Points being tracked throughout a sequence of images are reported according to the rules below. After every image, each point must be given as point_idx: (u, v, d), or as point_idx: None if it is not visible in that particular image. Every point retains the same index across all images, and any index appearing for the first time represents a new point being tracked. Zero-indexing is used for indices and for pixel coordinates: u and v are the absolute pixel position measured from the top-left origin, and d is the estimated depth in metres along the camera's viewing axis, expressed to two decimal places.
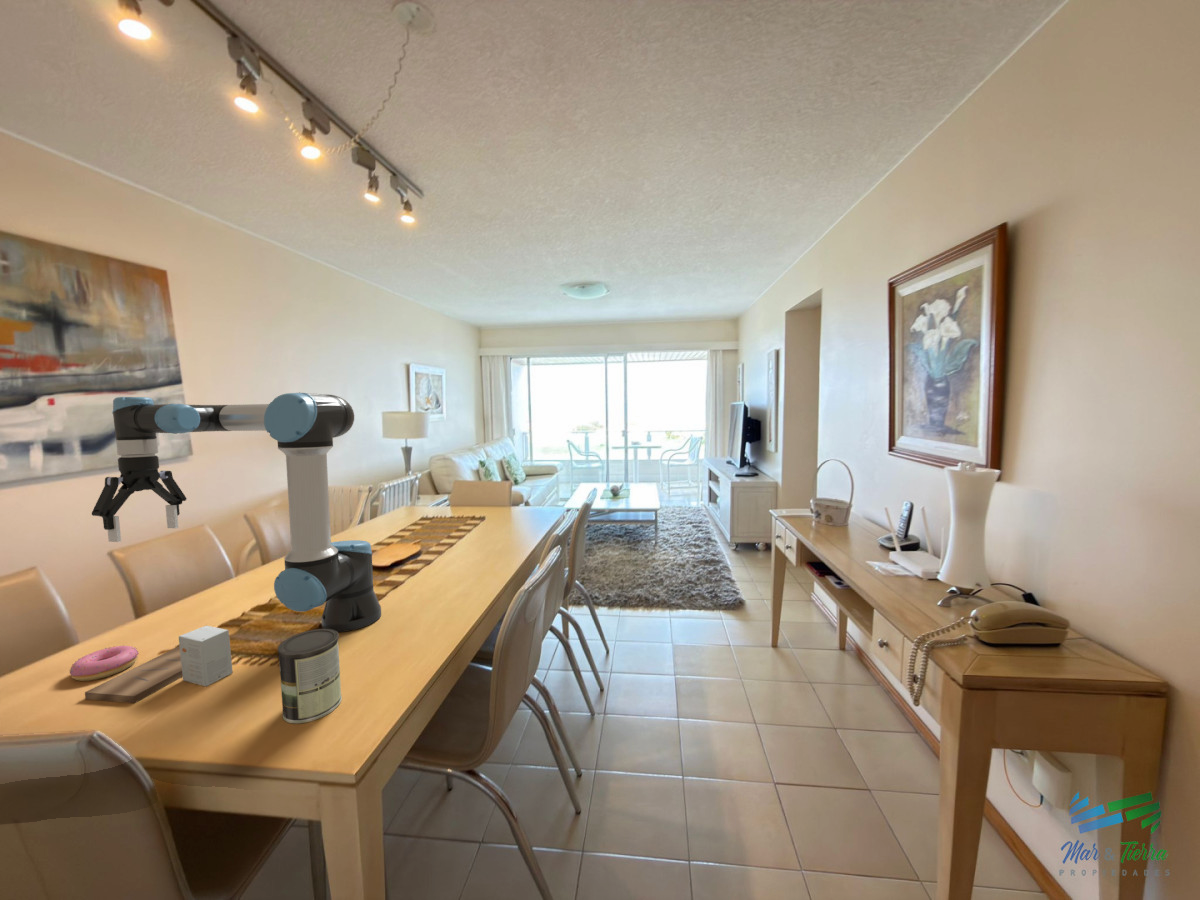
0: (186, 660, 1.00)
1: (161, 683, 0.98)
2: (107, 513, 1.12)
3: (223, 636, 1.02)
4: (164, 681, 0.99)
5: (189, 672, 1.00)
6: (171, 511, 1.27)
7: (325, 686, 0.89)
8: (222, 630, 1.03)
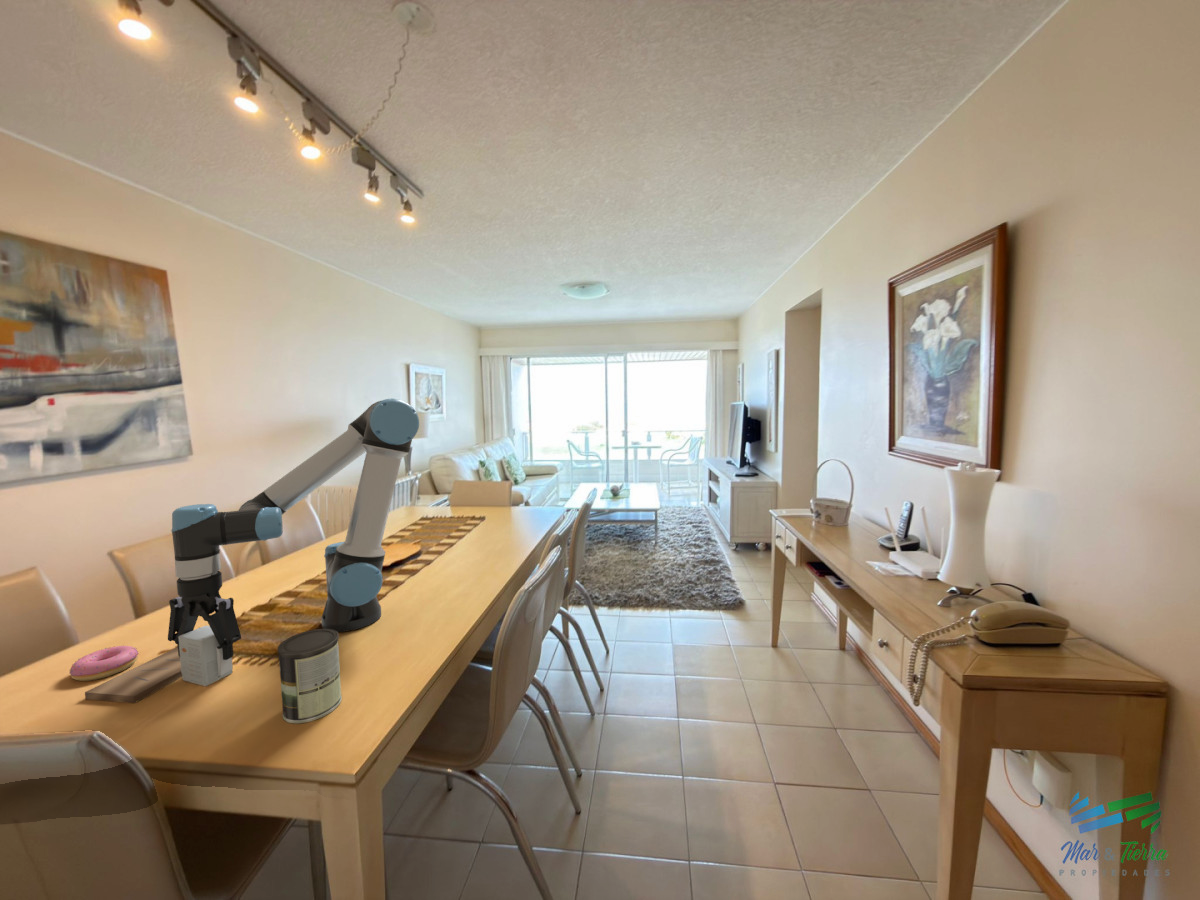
0: (186, 660, 1.00)
1: (161, 683, 0.98)
2: None
3: None
4: (164, 681, 0.99)
5: (189, 672, 1.00)
6: None
7: (325, 686, 0.89)
8: None
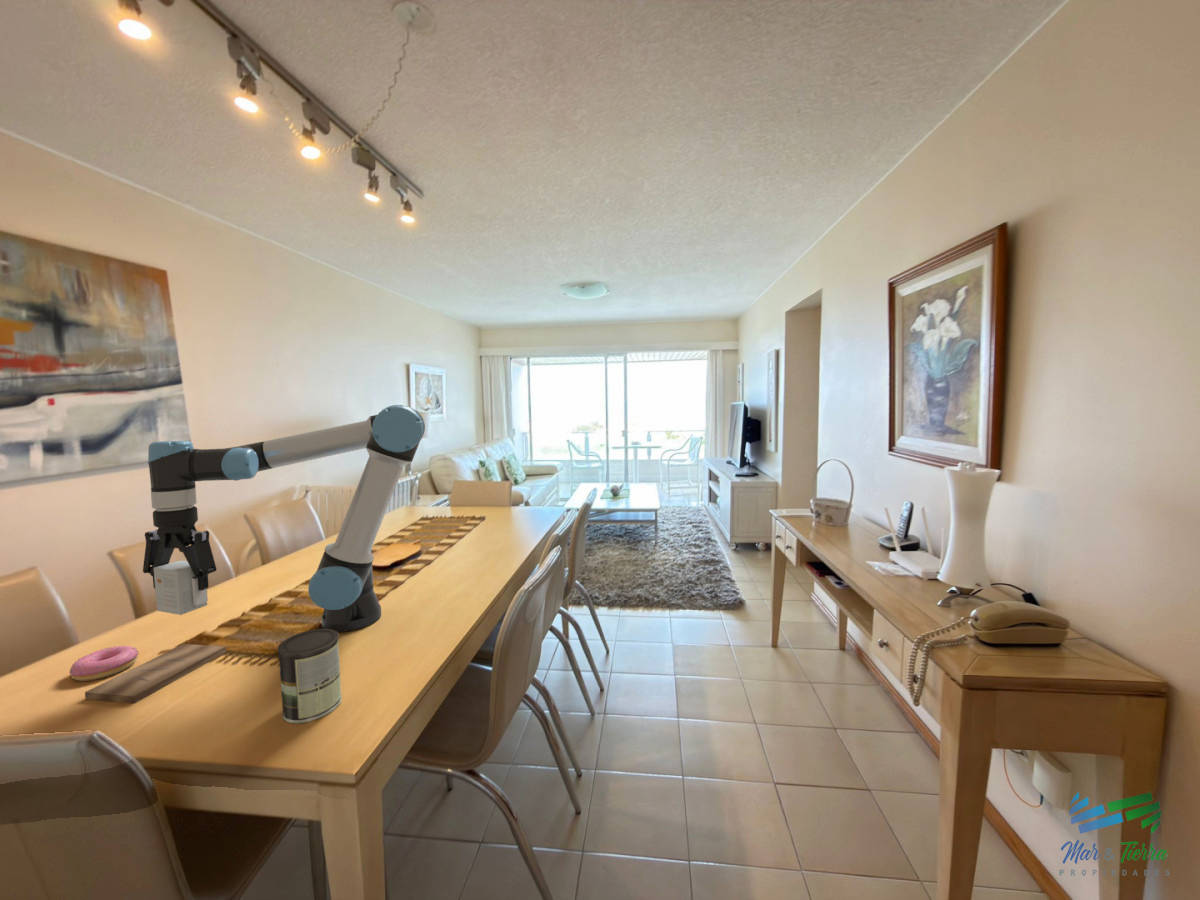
0: (161, 591, 1.03)
1: (161, 683, 0.98)
2: None
3: None
4: (164, 681, 0.99)
5: (164, 602, 1.03)
6: None
7: (325, 686, 0.89)
8: None
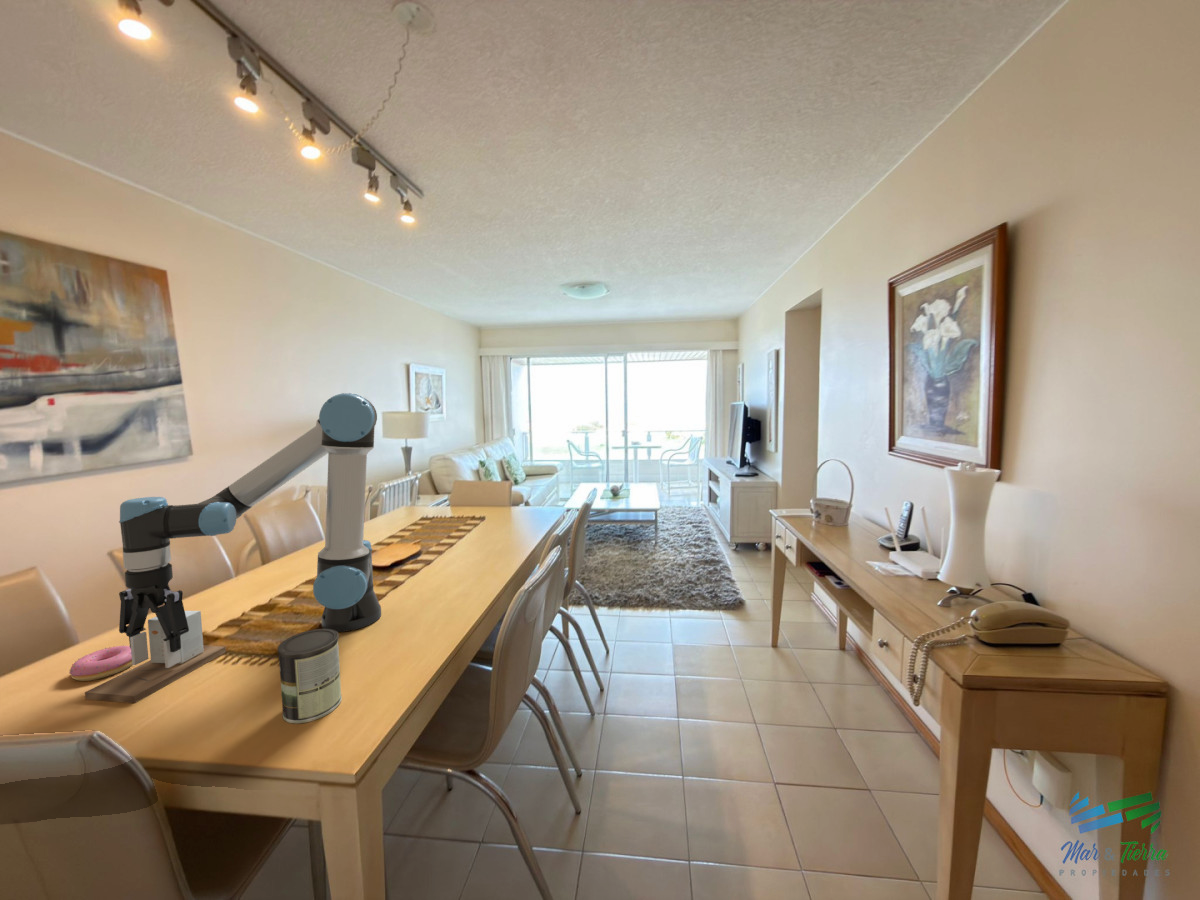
0: (156, 642, 1.05)
1: (161, 683, 0.98)
2: None
3: (196, 616, 1.08)
4: (164, 681, 0.99)
5: (160, 653, 1.05)
6: None
7: (325, 686, 0.89)
8: (194, 611, 1.09)
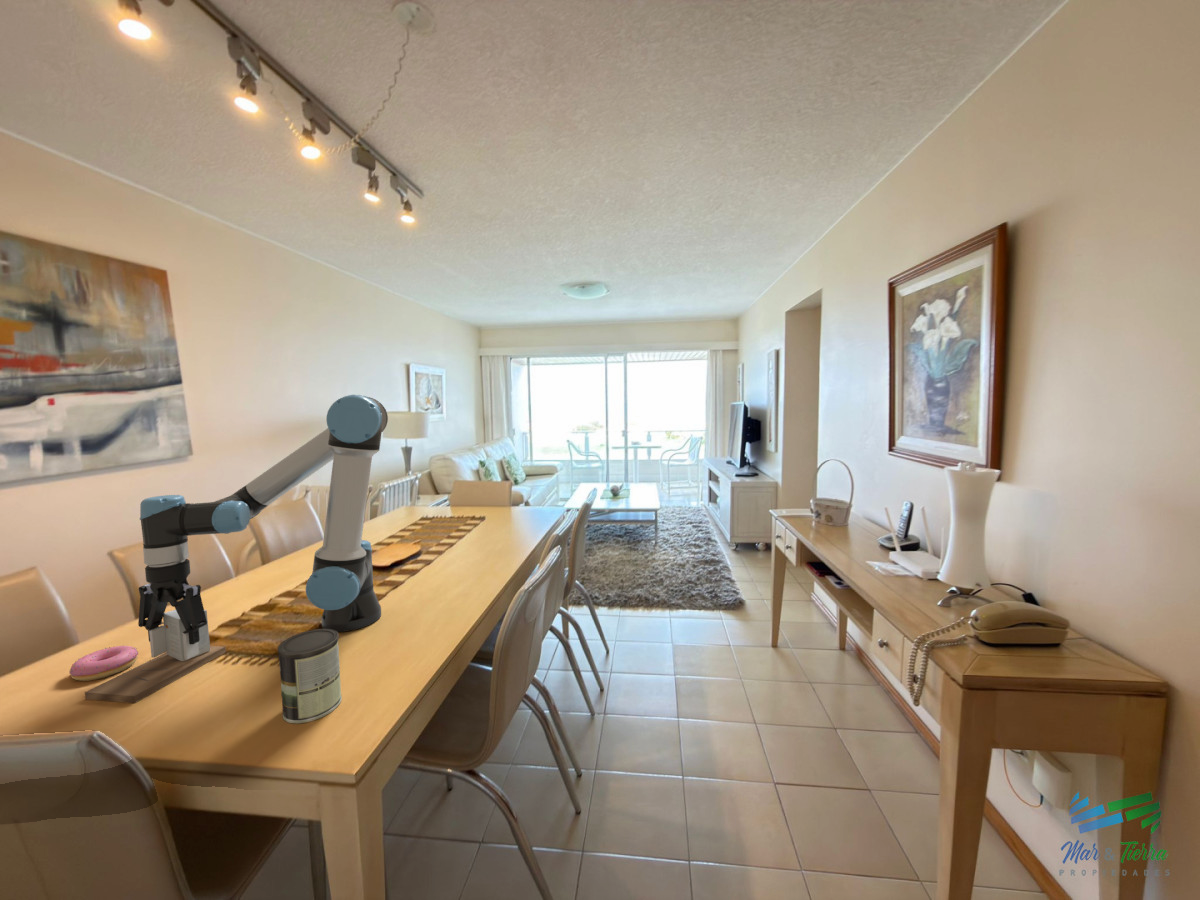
0: (168, 636, 1.08)
1: (161, 683, 0.98)
2: None
3: None
4: (164, 681, 0.99)
5: (170, 647, 1.08)
6: None
7: (325, 686, 0.89)
8: None
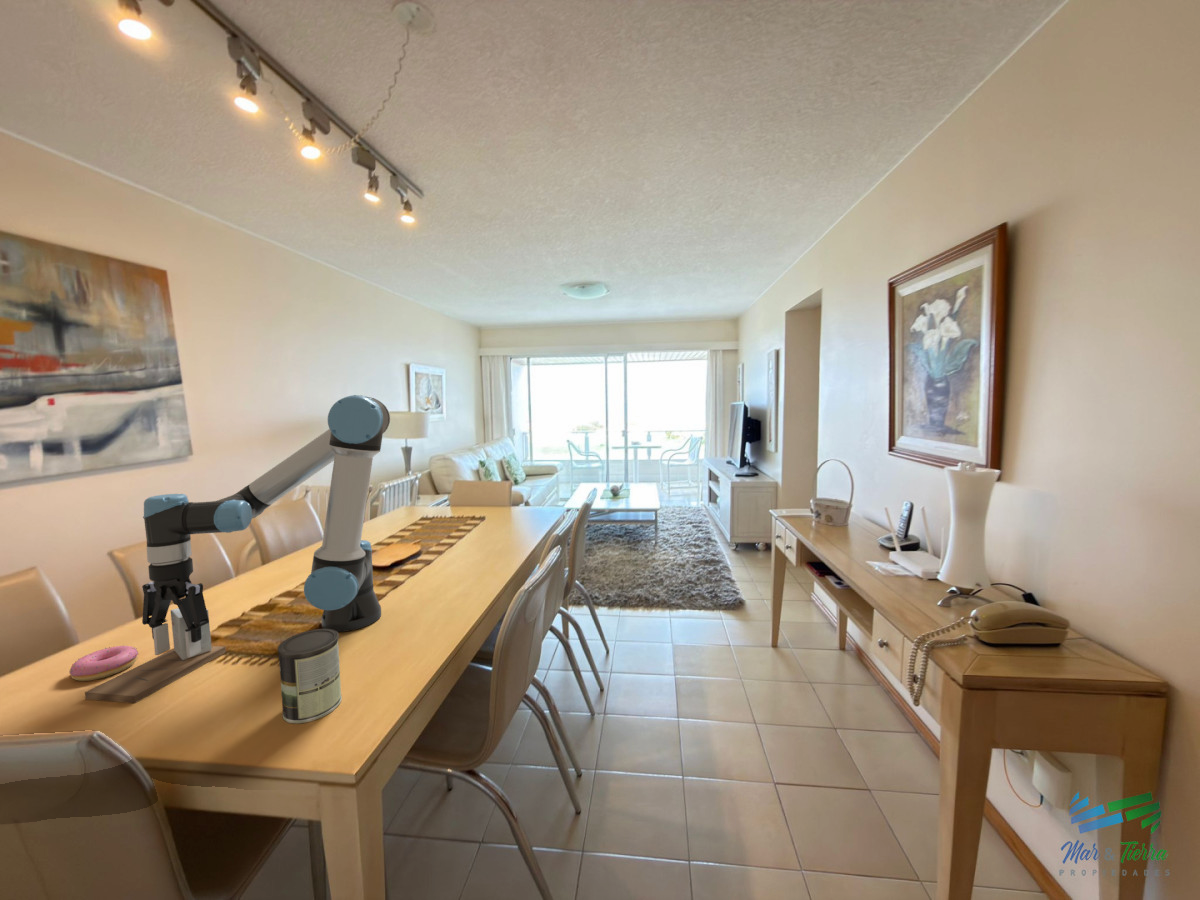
0: (174, 633, 1.09)
1: (161, 683, 0.98)
2: None
3: None
4: (164, 681, 0.99)
5: (175, 644, 1.09)
6: None
7: (325, 686, 0.89)
8: None
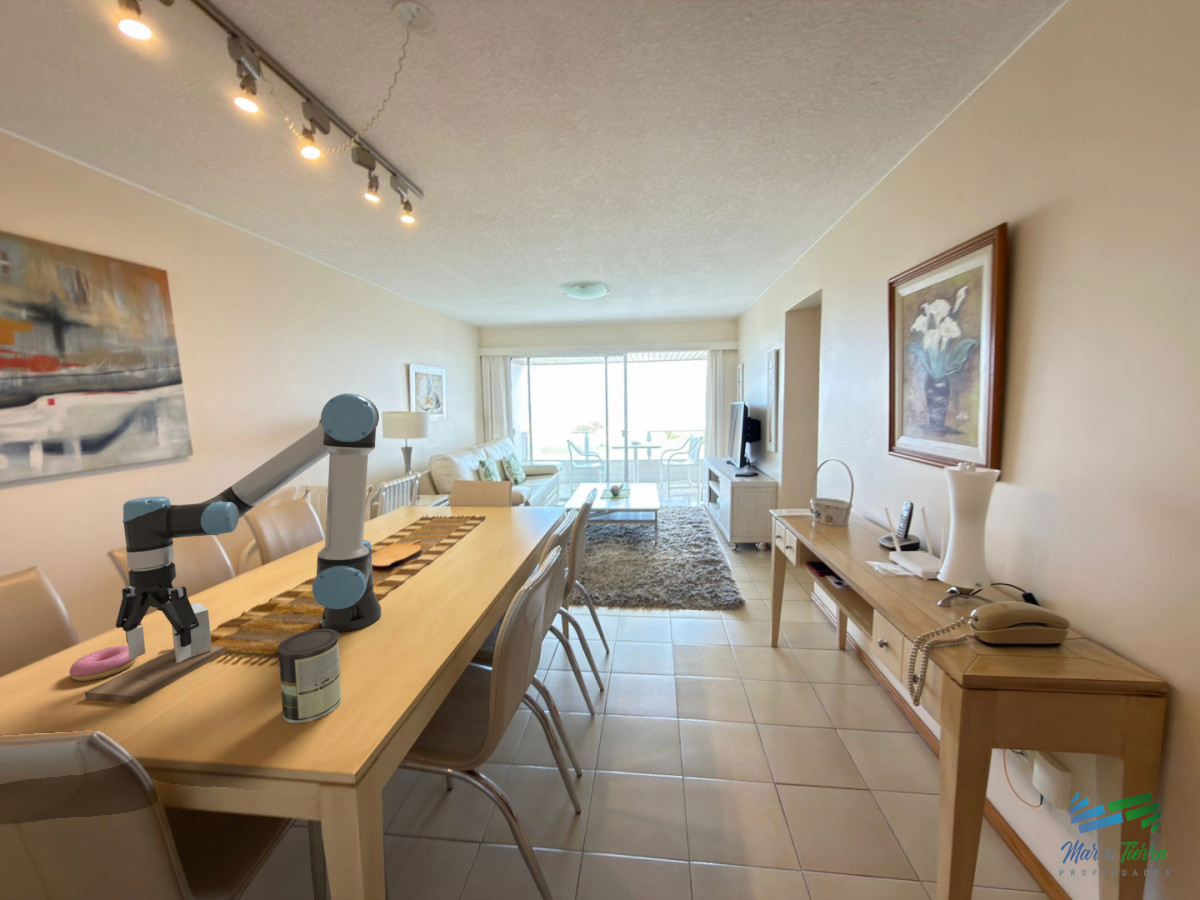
0: (174, 633, 1.09)
1: (161, 683, 0.98)
2: None
3: (202, 615, 1.09)
4: (164, 681, 0.99)
5: None
6: None
7: (325, 686, 0.89)
8: (203, 609, 1.10)
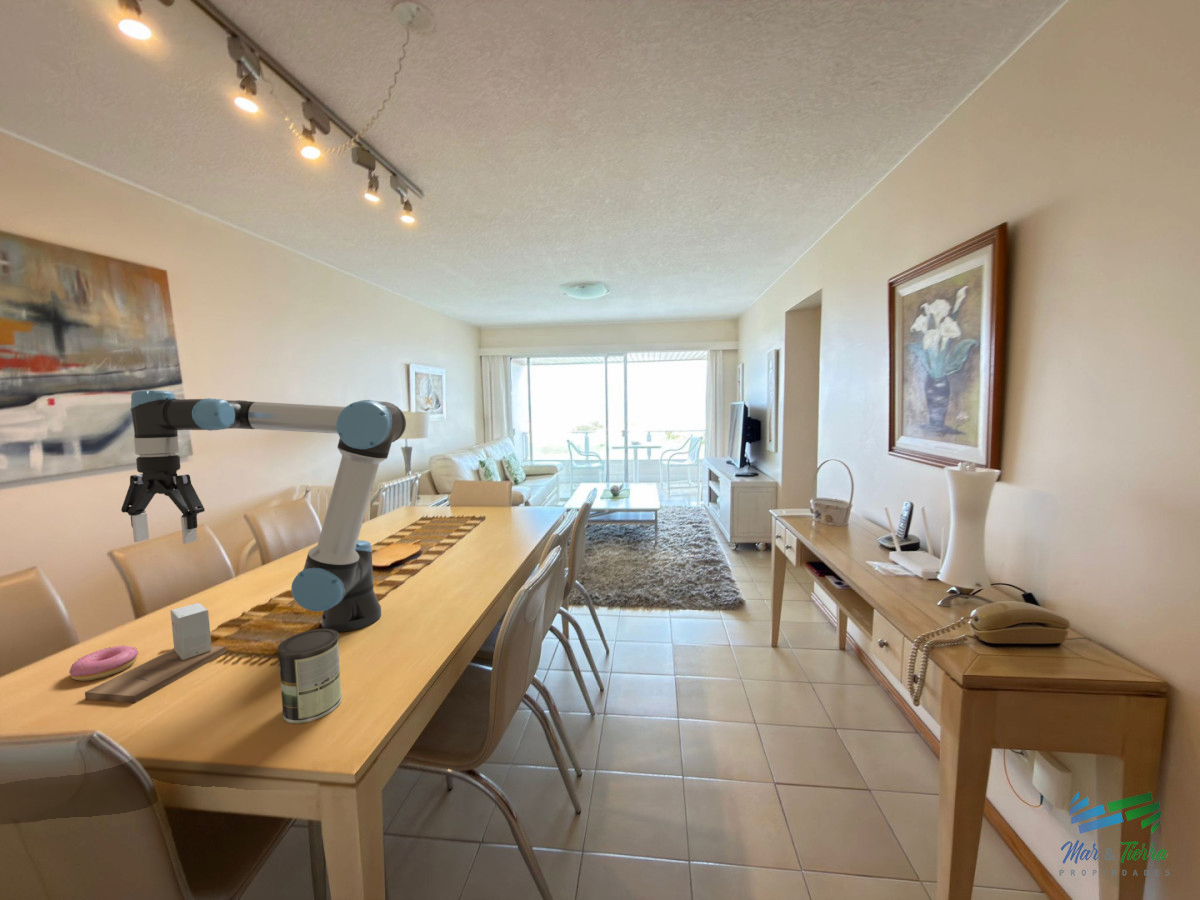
0: (174, 633, 1.09)
1: (161, 683, 0.98)
2: None
3: (202, 615, 1.09)
4: (164, 681, 0.99)
5: (175, 644, 1.09)
6: None
7: (325, 686, 0.89)
8: (203, 609, 1.10)
